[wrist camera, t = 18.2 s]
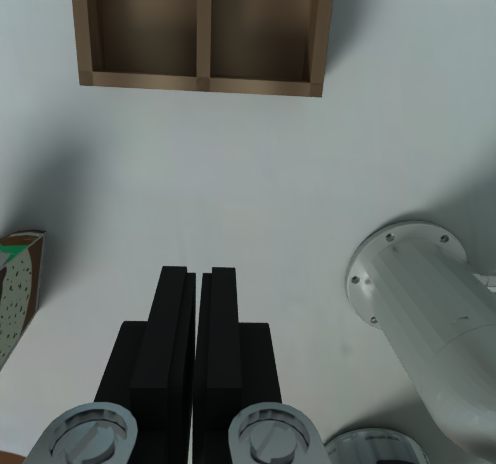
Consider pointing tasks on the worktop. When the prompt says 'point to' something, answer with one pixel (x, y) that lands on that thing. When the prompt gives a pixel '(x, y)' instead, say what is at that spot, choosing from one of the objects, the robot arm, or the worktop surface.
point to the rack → (204, 45)
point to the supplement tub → (375, 448)
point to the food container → (19, 286)
